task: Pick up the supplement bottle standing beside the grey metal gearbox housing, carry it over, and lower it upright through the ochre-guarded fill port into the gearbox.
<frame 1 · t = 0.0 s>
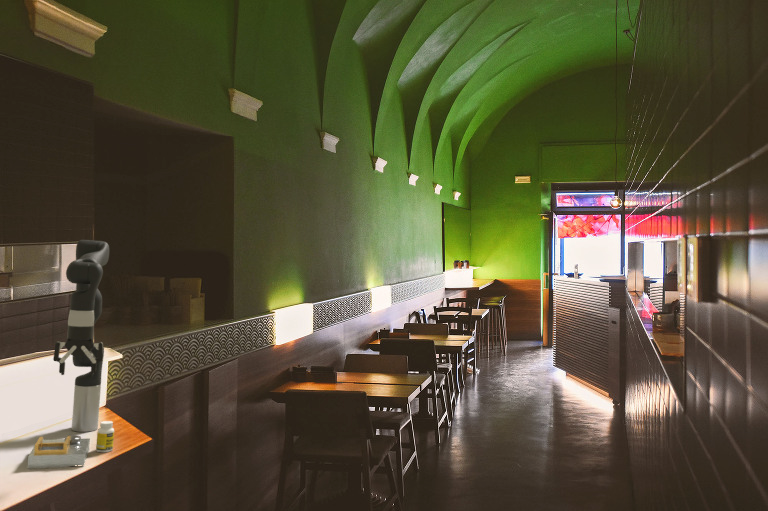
hand: (77, 374, 205), 29 cm above the counter, tool pointing down, fingers open, 8 cm apart
gearbox: (59, 458, 210), on the counter
supplement bottle: (104, 450, 222), on the counter
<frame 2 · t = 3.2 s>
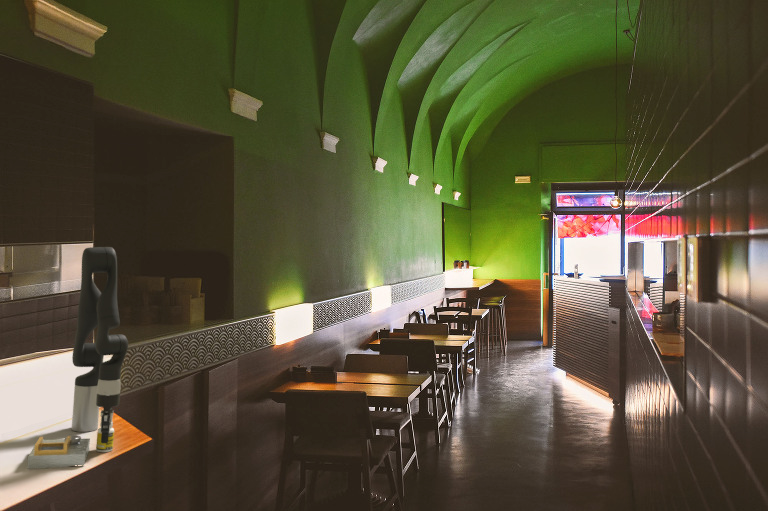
hand: (105, 440, 222), 4 cm above the counter, tool pointing down, fingers closed on supplement bottle, 5 cm apart
supplement bottle: (104, 450, 222), on the counter, touching gripper
when the fingers open (6 cm above the counter, at t = 9.9 s): supplement bottle drops 2 cm, resting in gearbox.
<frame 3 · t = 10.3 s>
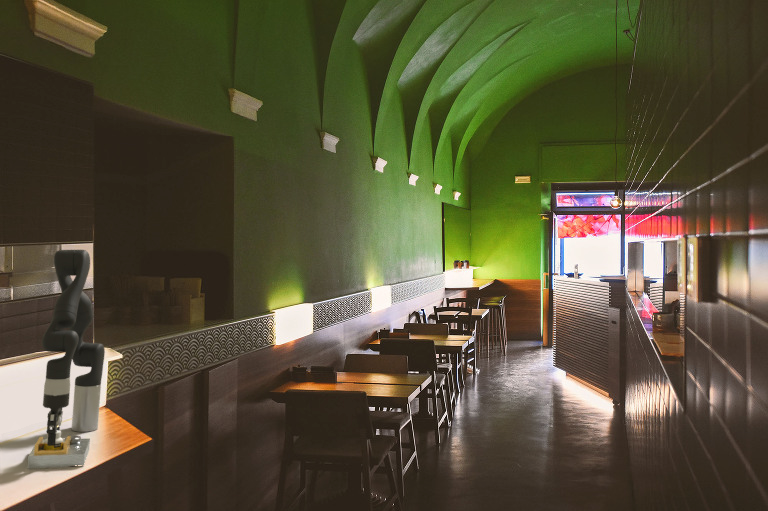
hand: (53, 441, 207), 7 cm above the counter, tool pointing down, fingers open, 8 cm apart
supplement bottle: (52, 462, 207), resting in gearbox
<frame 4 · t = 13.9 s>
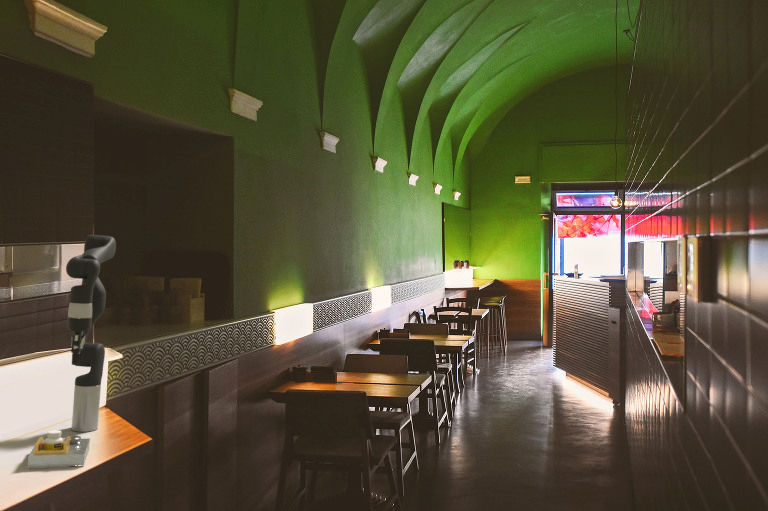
hand: (76, 362, 221), 30 cm above the counter, tool pointing down, fingers open, 8 cm apart
nothing on the counter moved.
at the end: supplement bottle 0.2 cm from the target spot on the gearbox, point 0.0 cm above the gearbox's base; supplement bottle tilted 0°; the gripper is holding nothing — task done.
